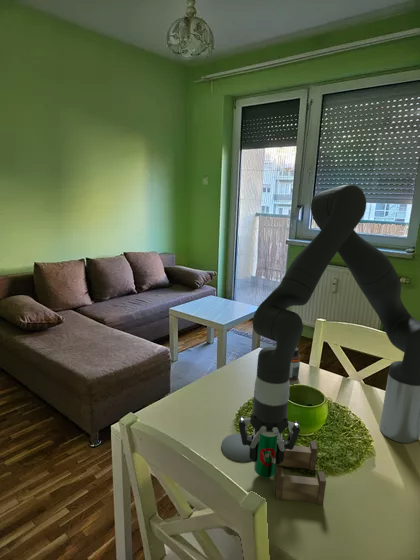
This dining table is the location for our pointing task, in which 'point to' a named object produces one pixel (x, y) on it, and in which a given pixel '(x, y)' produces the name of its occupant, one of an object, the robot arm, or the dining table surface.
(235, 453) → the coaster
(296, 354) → the supplement bottle
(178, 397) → the dining table surface
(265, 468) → the soda can
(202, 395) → the dining table surface
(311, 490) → the channel
